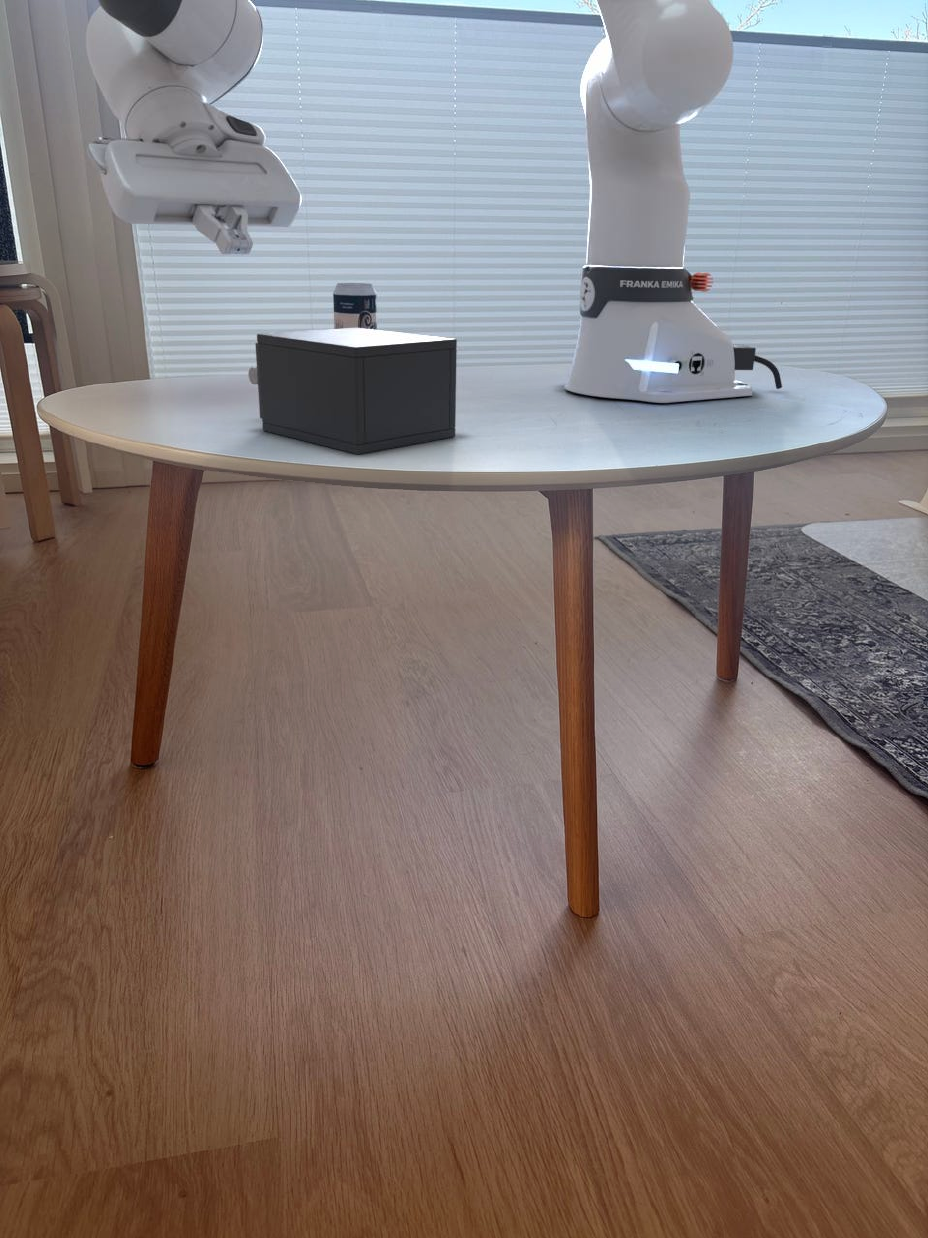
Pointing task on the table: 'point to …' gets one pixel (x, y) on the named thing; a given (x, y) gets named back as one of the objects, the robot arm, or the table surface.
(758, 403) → the table surface
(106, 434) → the table surface
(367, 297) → the beer can
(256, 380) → the drawer
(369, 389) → the dark grey storage box
